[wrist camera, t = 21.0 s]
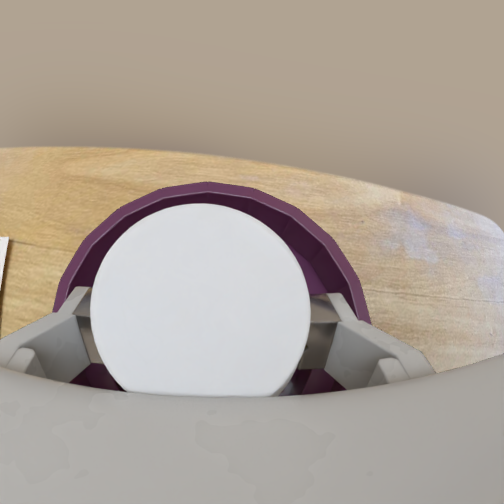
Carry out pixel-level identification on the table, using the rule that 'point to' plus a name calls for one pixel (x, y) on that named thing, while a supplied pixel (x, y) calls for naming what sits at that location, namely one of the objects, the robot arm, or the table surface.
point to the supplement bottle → (200, 306)
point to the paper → (2, 254)
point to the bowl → (249, 202)
